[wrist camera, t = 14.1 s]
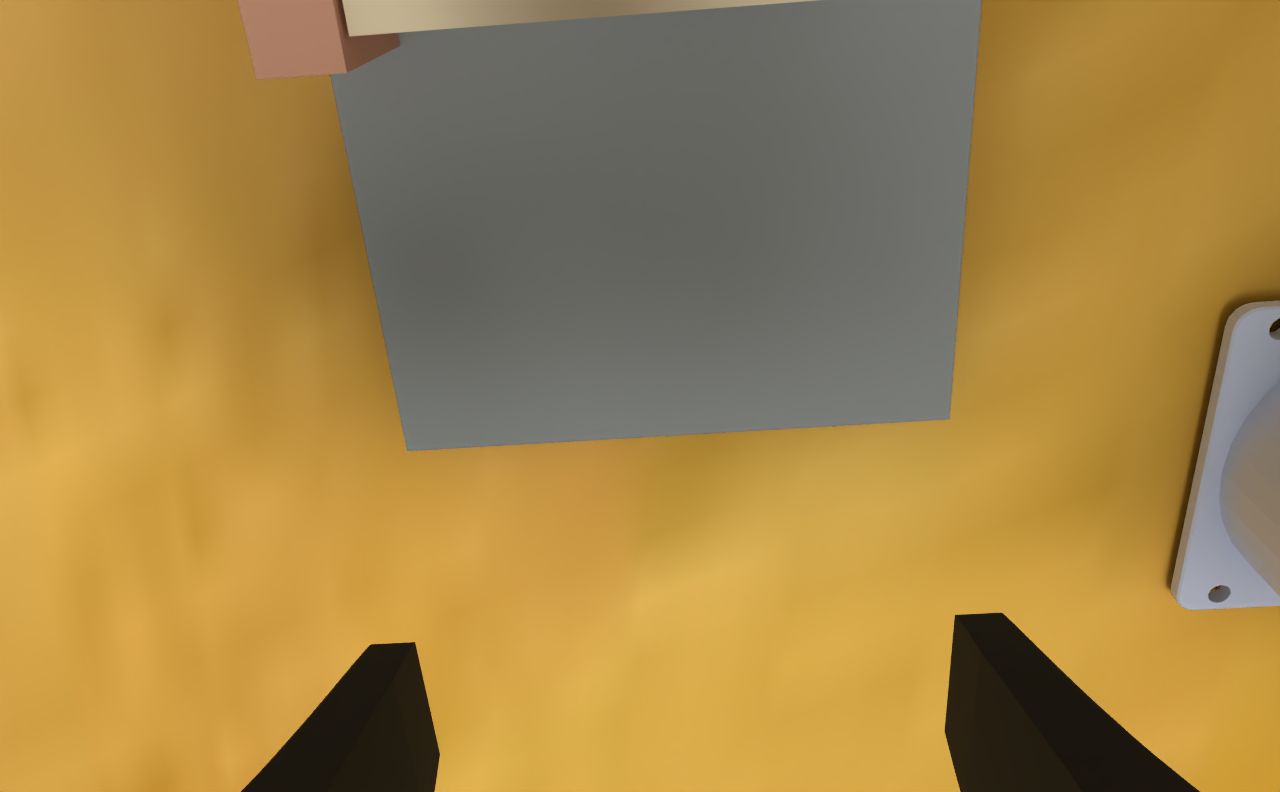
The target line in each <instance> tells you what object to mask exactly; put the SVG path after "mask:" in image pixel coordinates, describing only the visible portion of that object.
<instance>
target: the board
mask: <svg viewBox="0 0 1280 792" xmlns="http://www.w3.org/2000/svg"><path fill="white" fill-rule="evenodd" d="M238 3H239V8H240V12H241V16H242V20H243V24H244V29H245V33H246V37H247V41H248V46H249V50H250V54H251V58H252V62H253V67H254V71H255V75H256V79H257V80H261V79H274V78H287V77H301V76H314V75H327V74H330V76H331V80H332V85H333V90H334V95H335V100H336V105H337V110H338V115H339V120H340V124H341V129H342V134H343V139H344V144H345V149H346V154H347V159H348V164H349V168H350V173H351V178H352V183H353V188H354V193H355V198H356V203H357V208H358V213H359V217H360V222H361V227H362V232H363V237H364V242H365V247H366V252H367V257H368V261H369V266H370V271H371V276H372V281H373V286H374V291H375V296H376V301H377V305H378V310H379V315H380V320H381V325H382V330H383V335H384V340H385V345H386V350H387V354H388V359H389V364H390V369H391V374H392V379H393V384H394V389H395V394H396V398H397V403H398V408H399V413H400V418H401V423H402V428H403V433H404V438H405V443H406V447H407V451H418V450H435V449H452V448H469V447H486V446H503V445H520V444H537V443H554V442H571V441H588V440H606V439H623V438H640V437H657V436H674V435H691V434H708V433H725V432H742V431H759V430H776V429H793V428H810V427H827V426H844V425H861V424H878V423H895V422H912V421H929V420H946V419H950V407H951V394H952V381H953V368H954V355H955V342H956V329H957V316H958V303H959V290H960V277H961V264H962V251H963V238H964V225H965V212H966V199H967V186H968V173H969V160H970V147H971V134H972V121H973V108H974V95H975V82H976V69H977V56H978V43H979V30H980V17H981V4H982V0H817V1H804V2H791V3H778V4H765V5H752V6H739V7H726V8H713V9H700V10H687V11H674V12H661V13H648V14H635V15H621V16H608V17H595V18H582V19H569V20H556V21H543V22H530V23H517V24H504V25H491V26H478V27H465V28H452V29H439V30H426V31H413V32H400V33H387V34H374V35H361V36H349V33H348V28H347V22H346V17H345V12H344V7H343V2H342V0H238Z"/></svg>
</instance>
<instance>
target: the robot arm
mask: <svg viewBox="0 0 1280 792" xmlns="http://www.w3.org/2000/svg"><path fill="white" fill-rule="evenodd" d="M1279 318H1280V301H1265V302H1252V303H1248V304H1244V305H1242V306H1241V307H1239V308H1237V309H1236V310H1235V311H1234V312H1233V313H1232V314H1231V315H1230V316H1229V318H1228V320H1227V323H1226V325H1225V329H1224V334H1223V339H1222V344H1221V348H1220V353H1219V358H1218V363H1217V368H1216V372H1215V377H1214V382H1213V387H1212V392H1211V396H1210V401H1209V406H1208V411H1207V416H1206V421H1205V425H1204V430H1203V435H1202V440H1201V445H1200V449H1199V454H1198V459H1197V464H1196V469H1195V473H1194V478H1193V483H1192V488H1191V493H1190V497H1189V502H1188V507H1187V512H1186V517H1185V521H1184V526H1183V531H1182V536H1181V541H1180V545H1179V550H1178V555H1177V560H1176V565H1175V569H1174V574H1173V579H1172V584H1171V594H1172V596H1173V597H1174V599H1175V600H1176V601H1177V602H1178V604H1179V605H1180V606H1181V607H1183V608H1185V609H1189V610H1205V609H1225V608H1245V607H1265V606H1280V328H1279V329H1278V330H1276V331H1274V332H1271V333H1269V329H1270V327H1271V325H1272V323H1273V322H1275V321H1276V320H1277V319H1279ZM1220 585H1221V586H1220ZM1216 586H1220V588H1219V589H1217V590H1216V591H1214V592H1210V590H1211V589H1213V588H1214V587H1216ZM1209 592H1210V593H1209ZM945 734H946V738H947V742H948V746H949V750H950V754H951V758H952V761H953V765H954V769H955V773H956V777H957V780H958V784H959V788H960V791H961V792H1200V791H1198V790H1197V789H1196V788H1195V787H1193V786H1192V785H1191V784H1189V783H1188V782H1187V781H1186V780H1184V779H1183V778H1182V777H1181V776H1180V775H1178V774H1177V773H1176V772H1175V771H1173V770H1172V769H1171V768H1170V767H1169V766H1167V765H1166V764H1165V763H1164V762H1162V761H1161V760H1160V759H1159V758H1158V757H1156V756H1155V755H1154V754H1153V753H1151V752H1150V751H1149V750H1148V749H1147V748H1146V747H1144V746H1143V745H1142V744H1141V743H1140V742H1139V741H1138V740H1136V739H1135V738H1134V737H1133V736H1132V735H1131V734H1129V733H1128V732H1127V731H1126V730H1125V729H1124V728H1123V727H1122V726H1121V725H1120V724H1118V723H1117V722H1116V721H1115V720H1114V719H1113V718H1112V717H1111V716H1110V715H1108V714H1107V713H1106V712H1105V711H1104V710H1103V709H1102V708H1101V707H1100V706H1099V705H1097V704H1096V703H1095V702H1094V701H1093V700H1092V699H1091V698H1090V697H1089V696H1088V695H1087V694H1086V693H1084V692H1083V691H1082V690H1081V689H1080V688H1079V687H1078V686H1077V685H1076V684H1075V683H1074V682H1073V681H1072V680H1071V679H1070V678H1069V677H1068V676H1067V675H1066V674H1065V673H1064V672H1063V671H1061V670H1060V669H1059V668H1058V667H1057V666H1056V665H1055V664H1054V663H1053V662H1052V661H1051V660H1050V659H1049V658H1048V657H1047V656H1046V655H1045V654H1044V653H1043V652H1042V651H1041V650H1040V649H1039V648H1038V647H1037V646H1036V645H1035V644H1034V643H1033V642H1032V641H1031V640H1030V639H1029V638H1028V637H1027V636H1026V635H1025V634H1024V633H1023V632H1022V631H1021V630H1020V629H1019V628H1018V627H1017V626H1016V625H1015V624H1013V623H1012V622H1011V621H1010V620H1009V619H1008V618H1007V617H1006V616H1005V615H1004V614H1003V613H987V614H967V615H955V621H954V632H953V644H952V655H951V666H950V677H949V689H948V700H947V711H946V723H945ZM439 757H440V753H439V748H438V744H437V739H436V735H435V730H434V726H433V721H432V717H431V712H430V708H429V703H428V699H427V694H426V690H425V685H424V681H423V676H422V672H421V667H420V663H419V658H418V654H417V649H416V645H415V642H412V643H392V644H372V645H370V646H369V647H368V648H367V649H366V650H365V651H364V652H363V653H362V655H361V656H360V657H359V658H358V659H357V660H356V662H355V663H354V664H353V665H352V666H351V667H350V669H349V670H348V671H347V672H346V673H345V675H344V676H343V677H342V678H341V679H340V681H339V682H338V683H337V684H336V685H335V687H334V688H333V689H332V690H331V691H330V692H329V694H328V695H327V696H326V697H325V698H324V700H323V701H322V702H321V703H320V704H319V706H318V707H317V708H316V709H315V710H314V711H313V713H312V714H311V715H310V716H309V717H308V718H307V720H306V721H305V722H304V723H303V724H302V725H301V727H300V728H299V729H298V730H297V731H296V732H295V733H294V734H293V736H292V737H291V738H290V739H289V740H288V741H287V742H286V743H285V745H284V746H283V747H282V748H281V749H280V750H279V751H278V752H277V754H276V755H275V756H274V757H273V758H272V759H271V760H270V762H269V763H268V764H267V765H266V766H265V767H264V768H263V769H262V770H261V771H260V772H259V773H258V775H257V776H256V777H255V778H254V779H253V780H252V781H251V782H250V783H249V784H248V785H247V786H246V787H245V788H244V789H243V790H242V791H241V792H434V791H435V784H436V777H437V770H438V763H439Z"/></svg>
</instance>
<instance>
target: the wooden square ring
mask: <svg viewBox="0 0 1280 792" xmlns="http://www.w3.org/2000/svg"><path fill="white" fill-rule="evenodd" d="M804 1H817V0H342V2H343V7H344V12H345V17H346V22H347V28H348V33H349V36H361V35H374V34H387V33H400V32H413V31H426V30H439V29H452V28H465V27H478V26H491V25H504V24H517V23H530V22H543V21H556V20H569V19H582V18H595V17H608V16H621V15H635V14H648V13H661V12H674V11H687V10H700V9H713V8H726V7H739V6H752V5H765V4H778V3H791V2H804Z"/></svg>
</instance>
